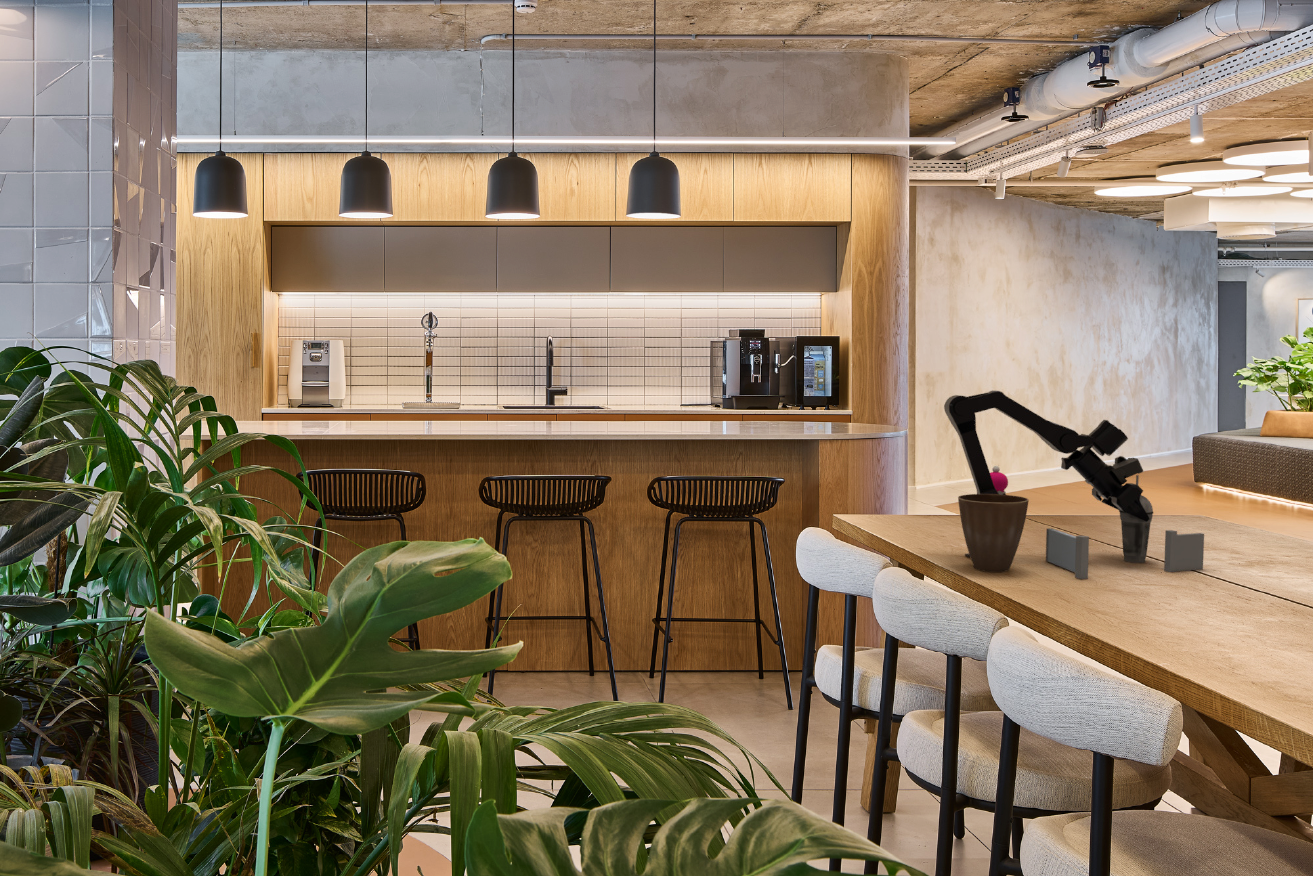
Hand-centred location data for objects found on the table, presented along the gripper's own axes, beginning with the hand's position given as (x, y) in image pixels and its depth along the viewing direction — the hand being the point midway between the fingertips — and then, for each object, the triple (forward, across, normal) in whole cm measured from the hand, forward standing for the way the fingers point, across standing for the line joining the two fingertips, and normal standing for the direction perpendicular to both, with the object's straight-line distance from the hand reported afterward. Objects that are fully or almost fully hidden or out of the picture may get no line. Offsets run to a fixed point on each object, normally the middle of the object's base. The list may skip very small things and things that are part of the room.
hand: (1142, 518), depth 235 cm
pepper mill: (-13, +21, +28) cm, 37 cm away
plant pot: (-19, -14, +33) cm, 40 cm away
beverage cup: (+6, 0, +8) cm, 10 cm away
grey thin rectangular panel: (-7, -12, +21) cm, 25 cm away
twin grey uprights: (+3, -15, +11) cm, 19 cm away
